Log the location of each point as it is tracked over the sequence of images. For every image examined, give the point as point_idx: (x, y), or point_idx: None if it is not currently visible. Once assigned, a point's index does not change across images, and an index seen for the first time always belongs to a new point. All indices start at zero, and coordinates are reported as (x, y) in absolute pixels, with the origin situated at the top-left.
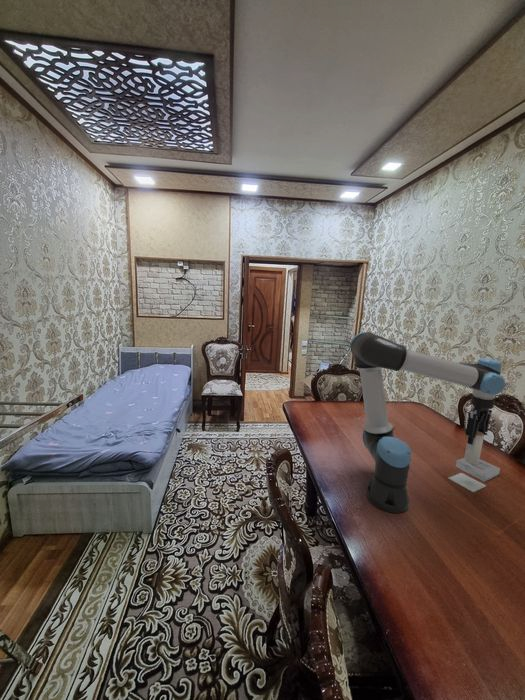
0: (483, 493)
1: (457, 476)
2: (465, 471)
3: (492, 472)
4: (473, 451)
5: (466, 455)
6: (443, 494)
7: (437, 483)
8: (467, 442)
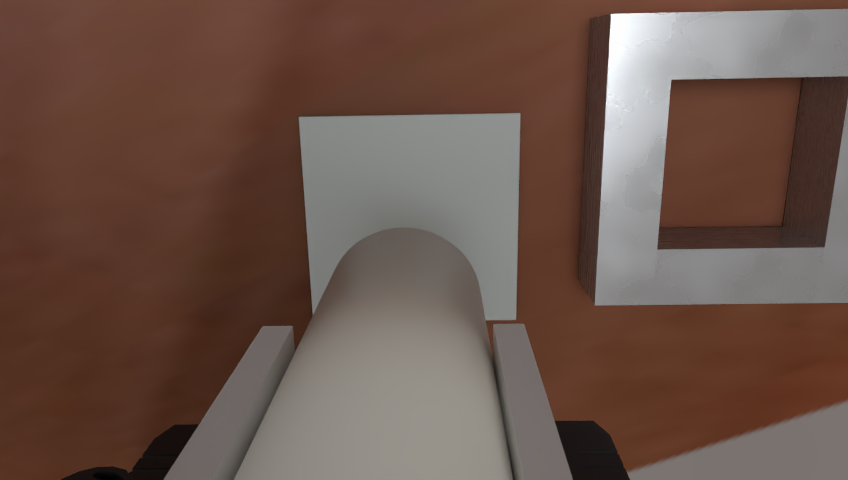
0: None
1: (412, 138)
2: (587, 117)
3: (716, 300)
4: None
5: (324, 292)
6: (43, 238)
7: (127, 124)
8: (220, 399)
